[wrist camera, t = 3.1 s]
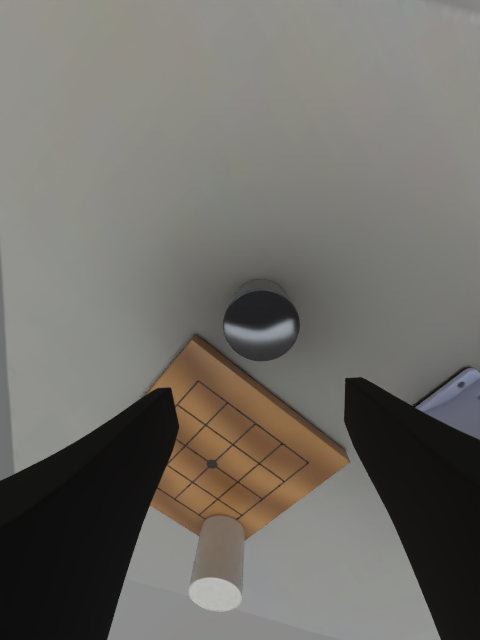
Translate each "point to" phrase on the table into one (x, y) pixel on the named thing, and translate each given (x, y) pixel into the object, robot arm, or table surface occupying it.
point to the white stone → (218, 564)
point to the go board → (236, 446)
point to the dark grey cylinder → (261, 321)
